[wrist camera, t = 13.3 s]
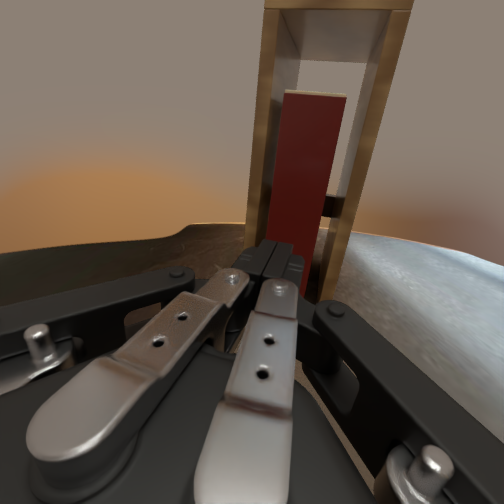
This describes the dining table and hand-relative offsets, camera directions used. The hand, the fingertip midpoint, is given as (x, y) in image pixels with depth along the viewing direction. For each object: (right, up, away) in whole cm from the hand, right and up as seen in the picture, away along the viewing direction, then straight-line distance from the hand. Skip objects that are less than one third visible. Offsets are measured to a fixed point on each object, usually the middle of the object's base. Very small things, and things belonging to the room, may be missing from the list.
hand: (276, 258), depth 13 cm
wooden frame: (+4, -3, +23) cm, 23 cm away
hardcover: (+3, -4, +22) cm, 22 cm away
